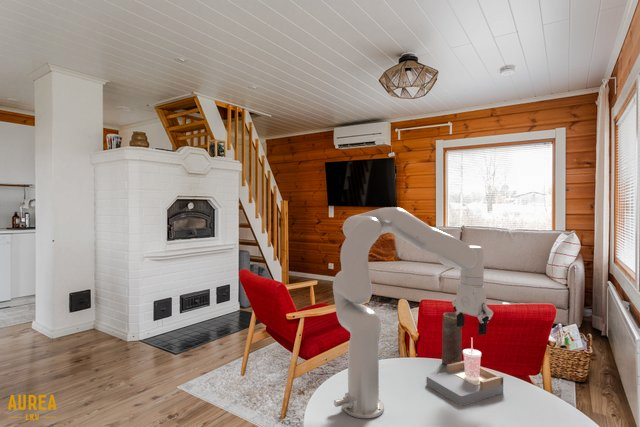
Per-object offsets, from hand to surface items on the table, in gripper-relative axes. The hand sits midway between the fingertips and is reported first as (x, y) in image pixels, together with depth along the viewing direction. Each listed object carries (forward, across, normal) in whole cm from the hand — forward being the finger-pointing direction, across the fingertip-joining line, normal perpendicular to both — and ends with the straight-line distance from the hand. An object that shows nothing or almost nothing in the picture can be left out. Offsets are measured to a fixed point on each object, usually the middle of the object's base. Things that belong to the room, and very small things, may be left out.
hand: (471, 330), depth 132 cm
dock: (+20, 0, -3) cm, 20 cm away
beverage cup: (+17, 0, +1) cm, 17 cm away
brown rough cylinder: (+20, -18, +9) cm, 28 cm away
